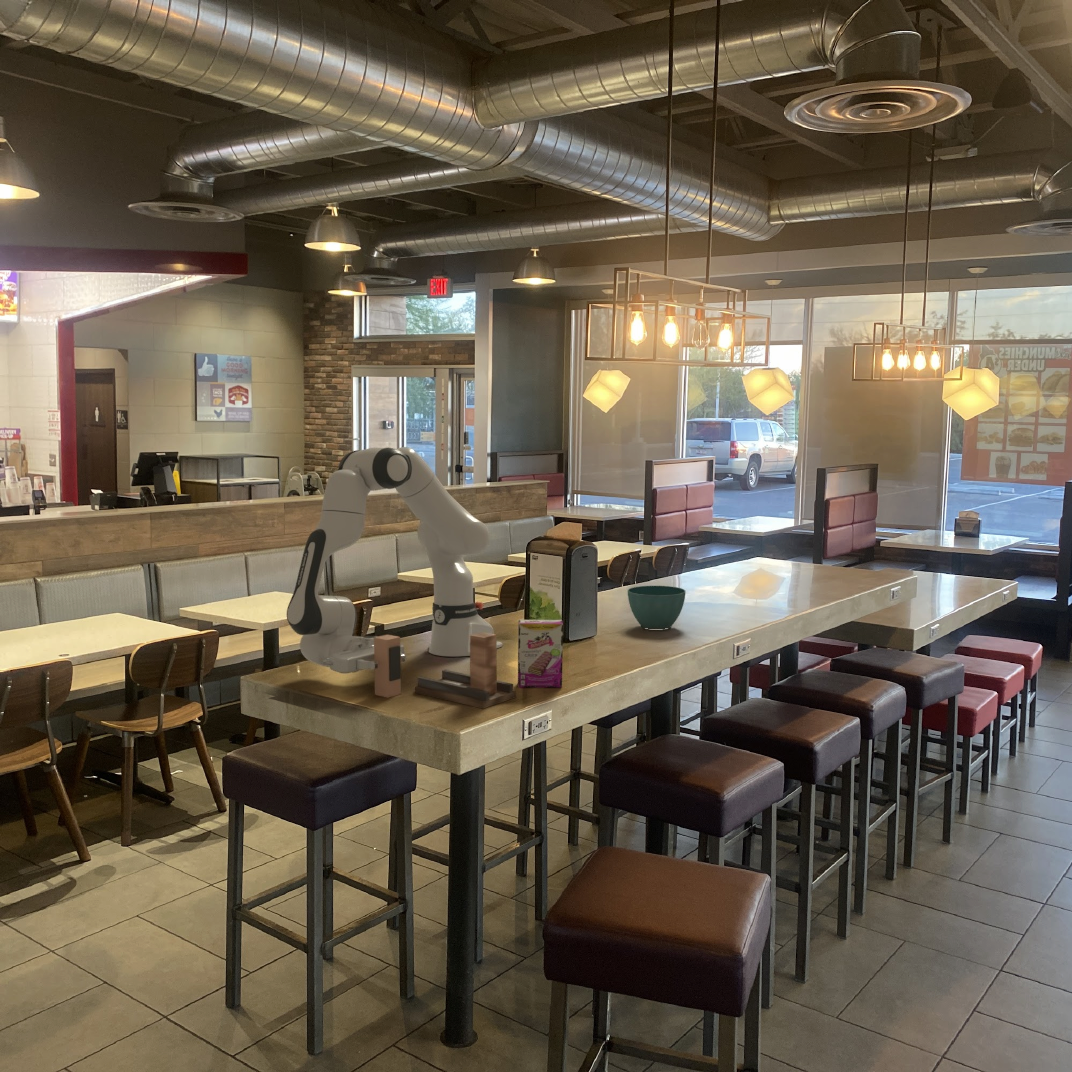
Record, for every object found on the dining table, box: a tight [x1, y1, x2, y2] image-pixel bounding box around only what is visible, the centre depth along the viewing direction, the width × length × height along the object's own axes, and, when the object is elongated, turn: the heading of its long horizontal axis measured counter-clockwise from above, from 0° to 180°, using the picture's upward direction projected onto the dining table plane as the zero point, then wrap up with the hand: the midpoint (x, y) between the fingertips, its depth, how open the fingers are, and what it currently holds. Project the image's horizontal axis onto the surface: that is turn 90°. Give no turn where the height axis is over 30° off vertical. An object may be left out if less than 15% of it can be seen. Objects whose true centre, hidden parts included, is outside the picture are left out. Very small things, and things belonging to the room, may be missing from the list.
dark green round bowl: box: [627, 585, 686, 629], centre depth 322 cm, size 18×18×12 cm
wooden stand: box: [414, 632, 517, 709], centre depth 244 cm, size 12×22×16 cm, turn 52°
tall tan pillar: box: [374, 634, 402, 699], centre depth 244 cm, size 4×5×14 cm
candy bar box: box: [517, 619, 564, 689], centre depth 252 cm, size 11×5×16 cm, turn 92°
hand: (390, 662), depth 244 cm, fingers open, 8 cm apart
